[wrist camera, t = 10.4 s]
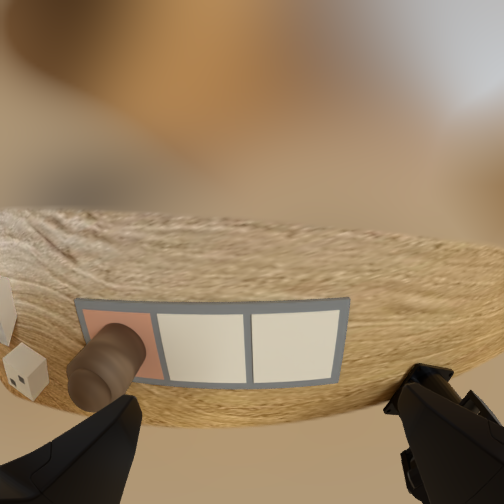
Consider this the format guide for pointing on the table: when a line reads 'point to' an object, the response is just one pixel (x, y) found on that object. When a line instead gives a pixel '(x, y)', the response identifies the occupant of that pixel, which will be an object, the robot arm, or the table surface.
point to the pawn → (105, 367)
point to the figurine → (6, 311)
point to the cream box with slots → (26, 371)
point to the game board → (230, 340)
